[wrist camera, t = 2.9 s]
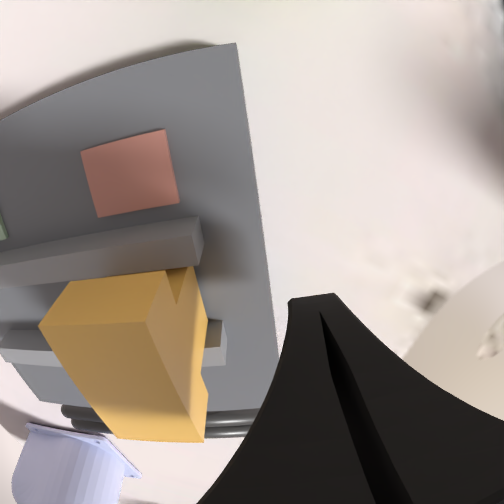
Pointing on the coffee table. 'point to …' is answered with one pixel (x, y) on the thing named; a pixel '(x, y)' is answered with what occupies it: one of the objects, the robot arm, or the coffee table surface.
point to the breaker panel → (139, 219)
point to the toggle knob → (136, 351)
